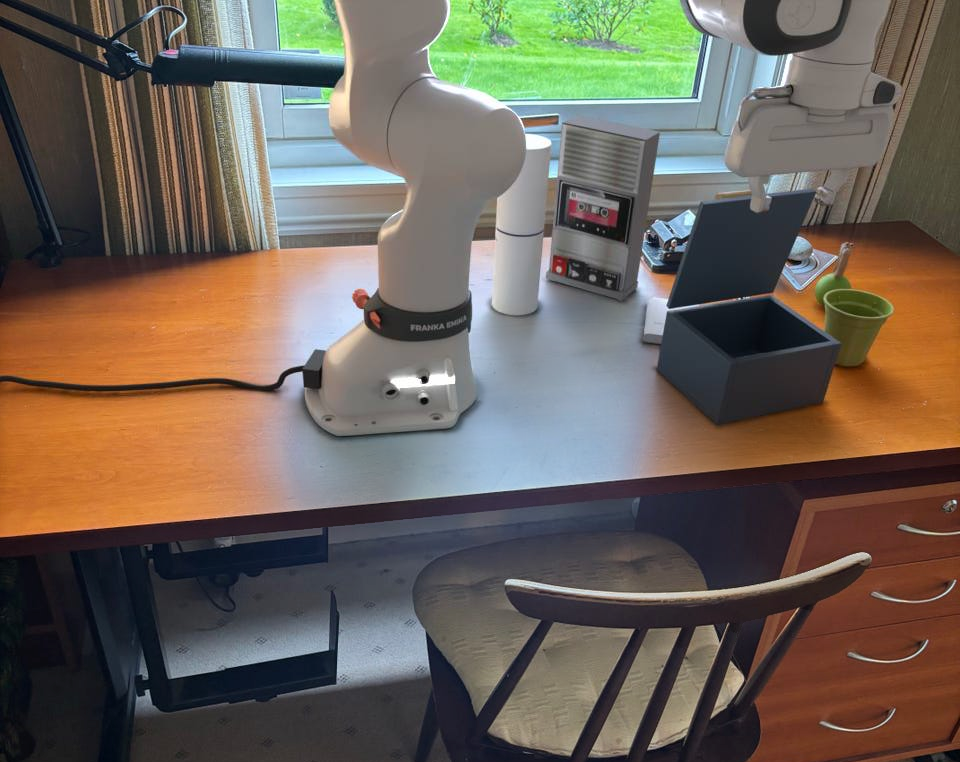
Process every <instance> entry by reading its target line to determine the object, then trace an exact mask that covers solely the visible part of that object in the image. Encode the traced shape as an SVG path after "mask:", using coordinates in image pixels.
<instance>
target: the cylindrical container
mask: <svg viewBox="0 0 960 762" xmlns="http://www.w3.org/2000/svg"><path fill="white" fill-rule="evenodd" d="M525 136H526V155H525V160H524V164H523V167H522V170H521V172H520V174H519V176H518V177H517V179H516V181H515V182H514V183H513V185H512V186H511V187H510V188H509V189H508V190H507V191H506V192H505V193H504V194H502V195H501V196H499V197H498V198H496V199H497V200H496V217H495V234H494V235H495V236H494V253H493V272H492V273H493V274H492V289H491V290H492V291H491V307H492V308H493V309H494V310H495V311H497V312H499V313H501V314H505V315H508V316H525V315H529V314H533V313H534V312H535V311H536V310H537V309H538V304H539V303H538V302H539V293H540V292H539V291H540V279H541V267H542V257H543V247H544V246H543V245H544V235H545V225H546V224H545V223H546V212H547V200H548V187H549V175H550V165H551V153H552V141H551V140H550V138H547V137H546V136H542V135H537V134H532V133H525Z"/></svg>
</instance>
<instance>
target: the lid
mask: <svg viewBox="0 0 960 762" xmlns="http://www.w3.org/2000/svg"><path fill="white" fill-rule="evenodd" d="M816 192H817V190H816V189H815V188H806V189H805V188H804V189H796V190H787V191H779V192H770V193H769V192H768V193H765V194H766V195H767V196H770V197H771V198H772V199H771V203H770V205H769V210H768V211H766V212H758V213H756V212H754V211H753V210H751V208H750V203H751V198H752V193H751V190H750V189H744V190H734V191H725V192H717V193H716V194H715V196H714V199H708V200H701V201H700V202H699V204H698V208H697V211H696V214H695V217H694V221H693V224H692V225H691V230H690V233H689V235H688V238H687V240H686V241H687V242H686V245H685V248H684V250H683V254H682V256H681V260H680V263H679V266H678V269H677V272H676V275H675V279H674V281H673V284H672V287H671V290H670V293H669V297H668V298H667V299H668V302H667V305H666V306H667V307H668V309H673V308H680V307H686V306H692V305H699V304H701V305H706V304H712V303H719V302H725V301H732V300H738V299H744V298H751V297H757V296H763V295H770V294H773V293H774V292H775V289H776V287H777V285H778V282H779V280H780V278H781V275H782V273H783V271H784V268H785V266H786V264H787V261H788V259H789V257H790V254H791V252H792V250H793V248H794V245H795V244H796V240H797V238H798V236H799V233H800V231H801V229H802V226H803V225H804V222H805V219H806V217H807V215H808V212H809V210H810V209H811V205H812V204H813V201H814V200H815V196H816V195H817V194H816Z"/></svg>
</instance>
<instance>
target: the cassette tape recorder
mask: <svg viewBox="0 0 960 762" xmlns="http://www.w3.org/2000/svg"><path fill="white" fill-rule="evenodd" d="M560 131H561V133H560V143H559V153H558V154H559V155H558V165H557V177H556V187H555V199H554V207H553V208H554V211H553V221H552V231H551V244H550V254H549V265H548V270H547V271H546V272H545V279H546V280H549V281H551V282H557V283H560V284H564V285H567V286H571V287H575V288H578V289H581V290H584V291H588V292H592V293H595V294H598V295H602V296H606V297H609V298H613V299H617V300H618V301H620V302H621V301H624V300H625V299H626V298H628V297H629V296H630V295H631V294H632V293H633V292H634V291H635V290H637V288H638V286H639V281H638V278H639V272H640V265H641V259H642V253H643V245H644V240H645V233H646V227H647V219H648V213H649V207H650V200H651V195H652V188H653V181H654V176H655V175H654V174H655V168H656V162H657V154H658V148H659V143H660V136H661V131H658V130H653V129H648V128H644V127H639V126H633V125H629V124H624V123H619V122H614V121H609V120H604V119H601V118H600V119H599V118H595V117H589V116H585V115H580V114H577V115H575V116H572V117H571V118H569V119H566V120H564V121H562V123H561V130H560Z"/></svg>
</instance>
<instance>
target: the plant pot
mask: <svg viewBox="0 0 960 762" xmlns="http://www.w3.org/2000/svg"><path fill="white" fill-rule="evenodd" d="M824 303H825V307H824V313H825V315H824V316H825V317H824V325H823V331H825V332H826V333H828V334H829V335H830V336H832V337H833V338H835V339H836V340H838V341H839V342H841V343H842V344H841V347H840V351H839V354H838V357H837V360H836V363H835V365H837V366H840V367H841V366H842V367H857V366H860V364H863V363H864V362H865V360H866V358H867V356H868V354H869V353H870V350H871V348H872V346H873V344H874V343H875V340H876V338H877V336H878V334H879V332H880V331H881V328H882V326H883V325H884V324H885V323H886V322H887V320H888V318H889V317H891V316H892V315H893V314H894V311H895V307H894V306H893V304H892V303H891V302H890V301H888V299H886V298H884V297H882V296H880V295H879V294H875V293H873V292H869V291H864V290H860V289H852V288H851V289H837V290H832V291H830V292H827V293H826V294H825V295H824Z"/></svg>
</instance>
